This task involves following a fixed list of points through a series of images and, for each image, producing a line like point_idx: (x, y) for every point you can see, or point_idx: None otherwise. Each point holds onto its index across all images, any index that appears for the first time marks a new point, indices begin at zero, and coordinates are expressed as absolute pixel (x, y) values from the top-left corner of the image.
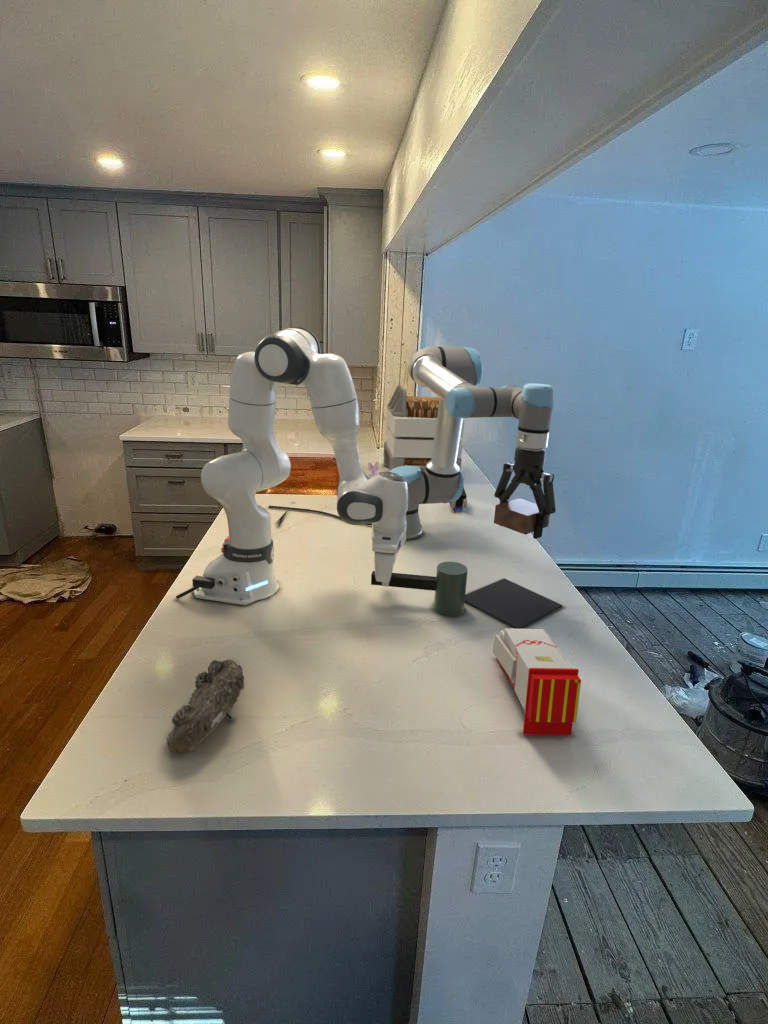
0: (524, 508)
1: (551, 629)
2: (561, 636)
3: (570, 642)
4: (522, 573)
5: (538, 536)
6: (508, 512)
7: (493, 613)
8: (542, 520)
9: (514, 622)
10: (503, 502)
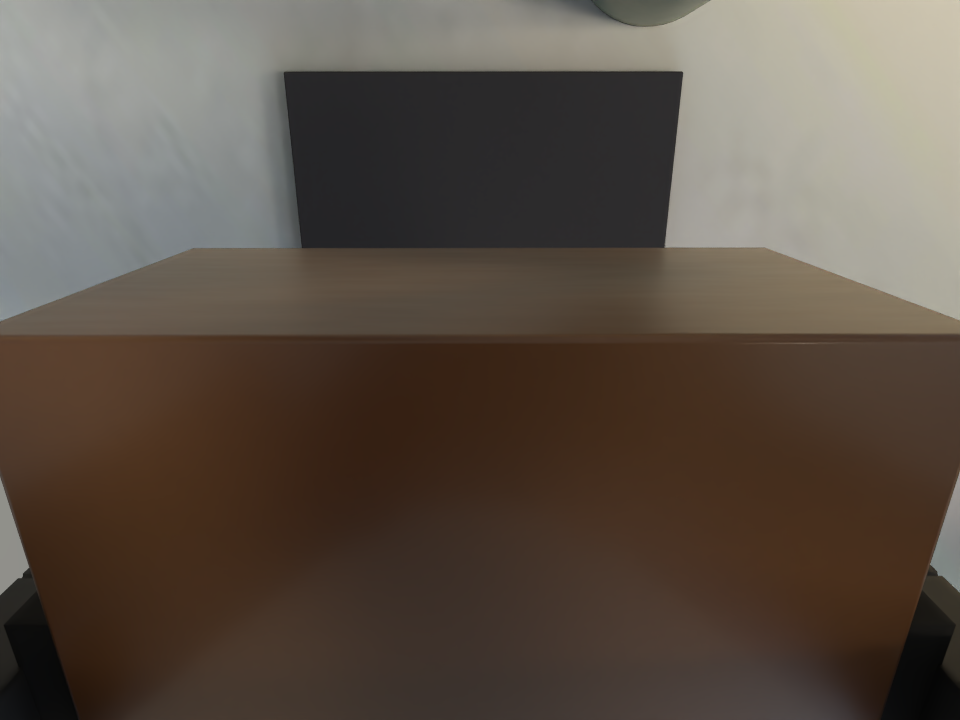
0: (389, 665)
1: (214, 222)
2: (149, 207)
3: (94, 196)
4: None
5: None
6: (549, 314)
7: (453, 89)
8: (33, 588)
9: (331, 106)
10: (935, 643)
